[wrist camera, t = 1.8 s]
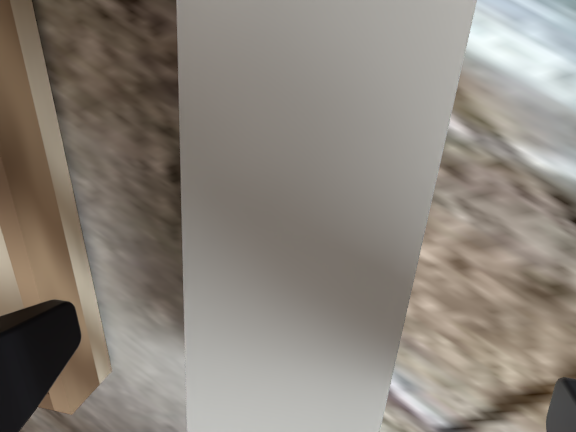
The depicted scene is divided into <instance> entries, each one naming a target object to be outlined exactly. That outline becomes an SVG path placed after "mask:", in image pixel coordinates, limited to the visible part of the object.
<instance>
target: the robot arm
mask: <svg viewBox="0 0 576 432" xmlns="http://www.w3.org/2000/svg"><path fill="white" fill-rule="evenodd" d="M81 337H82V334H81V329H80V325H79V321H78V317H77V313H76V309H75V306H74V305H73V304H72V303H71V302H69V301H63V300H56V299H54V300H49V301H45V302H42V303H39V304H36V305H33V306H30V307H27V308H24V309H21V310H18V311H15V312H11V313H8V314H5V315H2V316H0V432H19V431H20V429H21V428H22V427H23V426H24V424H25V423H26V422H27V421H28V419H29V418H30V417H31V415H32V414H33V413H34V411H35V410H36V409H37V407H38V406H39V404H40V403H41V402H42V400H43V399H44V397H45V396H46V394H47V393H48V391H49V390H50V388H51V387H52V385H53V384H54V382H55V381H56V379H57V378H58V376H59V375H60V373H61V372H62V371H63V369H64V368H65V366H66V365H67V363H68V362H69V360H70V359H71V357H72V356H73V354H74V353H75V351H76V350H77V348H78V347H79V345H80V342H81ZM546 430H547V432H576V379H572V378H566V377H562V378H560V379H558V381H557V382H556V384H555V387H554V391H553V395H552V399H551V402H550V406H549V410H548V413H547V419H546Z"/></svg>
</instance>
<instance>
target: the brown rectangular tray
mask: <svg viewBox="0 0 576 432" xmlns="http://www.w3.org/2000/svg"><path fill="white" fill-rule="evenodd" d="M54 299H56V300H63V301H69V302H71V303H72V304H73V305H74V306H75V309H76V313H77V317H78V321H79V325H80V329H81V334H82V337H81V342H80V345H79V347H78V348H77V350H76V351H75V353H74V354H73V356H72V357H71V359H70V360H69V362H68V363H67V365H66V366H65V368H64V369H63V371H62V372H61V373H60V375H59V376H58V378H57V379H56V381H55V382H54V384H53V385H52V387H51V388H50V390H49V391H48V393H47V394H46V396H45V397H44V399H43V400H42V402H41V403H40V404H39V406H38V407H41V408H45V409H49V410H53V411H58V412H62V413H66V414H71V415H72V414H73V413H74V412H75V411H76V410H77V409H78V408H79V407H80V405H81V404H82V403H83V402H84V401H85V400H86V399H87V398H88V397H89V396H90V395H91V393H92V392H93V391H94V390H95V389H96V388H97V387H98V386H99V385H100V384H101V383H102V381H103V380H104V379H105V378H106V377H107V376H108V375H109V374H110V373H111V372H112V368H111V364H110V359H109V354H108V350H107V345H106V340H105V336H104V331H103V327H102V322H101V317H100V313H99V308H98V304H97V299H96V294H95V290H94V285H93V281H92V276H91V271H90V267H89V262H88V258H87V253H86V248H85V244H84V239H83V235H82V230H81V225H80V221H79V216H78V212H77V207H76V202H75V198H74V193H73V189H72V184H71V179H70V175H69V170H68V165H67V161H66V156H65V152H64V147H63V142H62V138H61V133H60V129H59V124H58V119H57V115H56V110H55V106H54V101H53V96H52V92H51V87H50V83H49V78H48V73H47V69H46V64H45V60H44V55H43V50H42V46H41V41H40V37H39V32H38V27H37V23H36V18H35V13H34V9H33V4H32V0H0V316H2V315H5V314H8V313H11V312H15V311H18V310H21V309H24V308H27V307H30V306H33V305H36V304H39V303H42V302H45V301H49V300H54Z"/></svg>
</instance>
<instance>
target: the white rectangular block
mask: <svg viewBox="0 0 576 432" xmlns="http://www.w3.org/2000/svg"><path fill="white" fill-rule="evenodd" d="M476 2H477V0H177V43H178V85H179V128H180V170H181V212H182V255H183V297H184V340H185V382H186V424H187V432H380V428H381V424H382V419H383V415H384V410H385V406H386V401H387V397H388V393H389V388H390V384H391V379H392V375H393V370H394V366H395V362H396V357H397V353H398V348H399V344H400V339H401V335H402V330H403V326H404V322H405V317H406V313H407V308H408V304H409V299H410V295H411V290H412V286H413V282H414V277H415V273H416V268H417V264H418V259H419V255H420V250H421V246H422V242H423V237H424V233H425V228H426V224H427V219H428V215H429V210H430V206H431V202H432V197H433V193H434V188H435V184H436V179H437V175H438V171H439V166H440V162H441V157H442V153H443V148H444V144H445V139H446V135H447V131H448V126H449V122H450V117H451V113H452V108H453V104H454V99H455V95H456V91H457V86H458V82H459V77H460V73H461V68H462V64H463V59H464V55H465V51H466V46H467V42H468V37H469V33H470V28H471V24H472V19H473V15H474V11H475V6H476Z"/></svg>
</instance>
